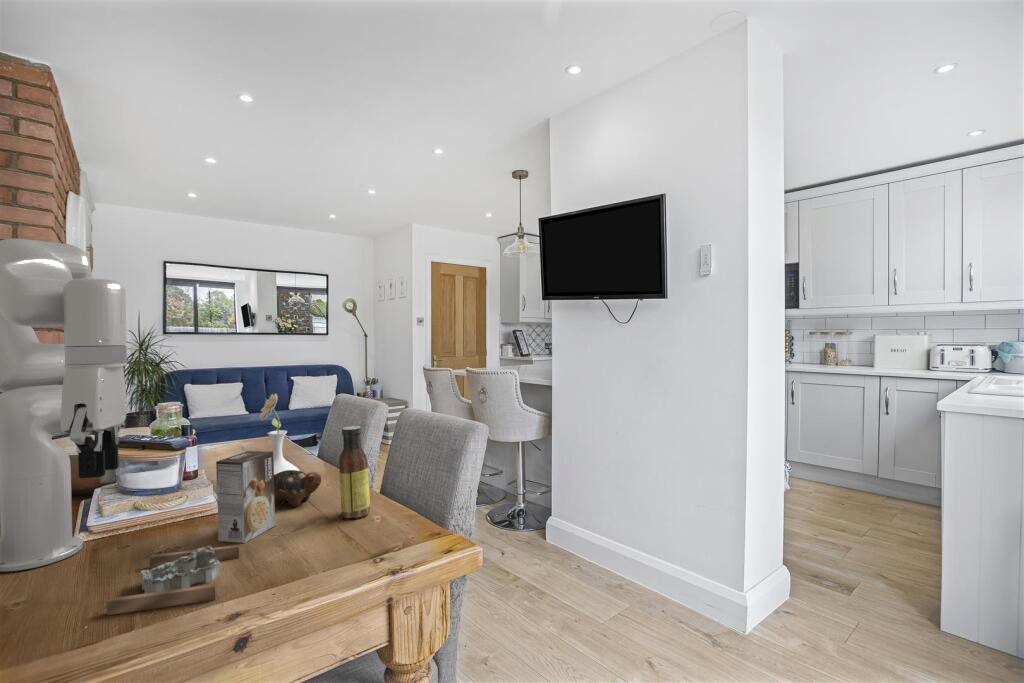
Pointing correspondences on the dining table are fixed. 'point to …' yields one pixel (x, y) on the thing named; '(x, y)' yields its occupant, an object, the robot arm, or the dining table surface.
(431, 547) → the dining table surface
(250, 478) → the coffee box
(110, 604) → the pair of wooden bars
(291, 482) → the decorative turtle
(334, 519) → the dining table surface
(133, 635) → the dining table surface
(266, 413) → the flower in vase
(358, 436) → the sauce bottle
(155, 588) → the egg carton
